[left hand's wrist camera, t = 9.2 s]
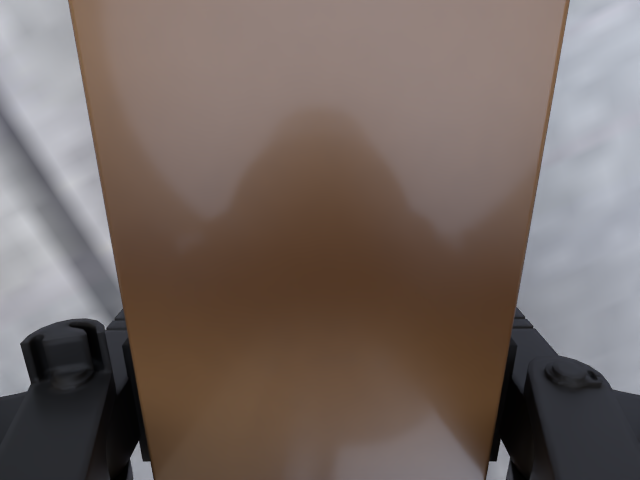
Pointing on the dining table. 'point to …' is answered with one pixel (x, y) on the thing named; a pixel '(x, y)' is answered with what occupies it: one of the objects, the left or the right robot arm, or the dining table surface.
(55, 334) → the left robot arm
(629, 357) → the dining table surface
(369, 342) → the bar
